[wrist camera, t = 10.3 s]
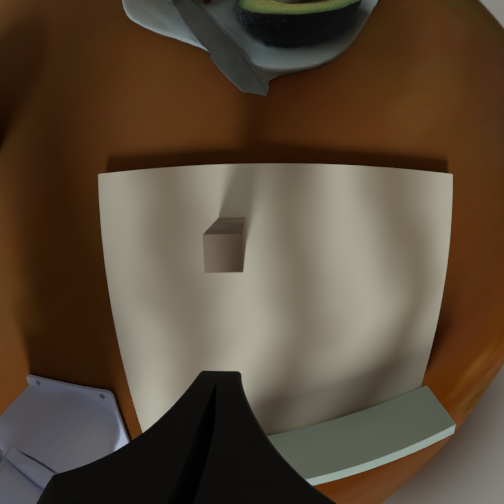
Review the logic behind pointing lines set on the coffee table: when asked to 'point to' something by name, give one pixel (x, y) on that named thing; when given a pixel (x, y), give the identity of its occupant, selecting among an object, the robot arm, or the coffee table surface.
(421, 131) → the coffee table surface
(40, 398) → the robot arm
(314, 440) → the door
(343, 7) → the salad plate
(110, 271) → the door frame board
